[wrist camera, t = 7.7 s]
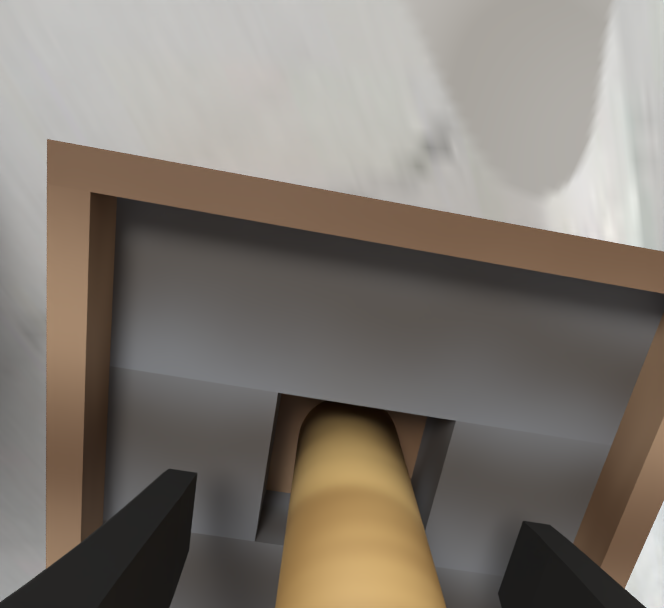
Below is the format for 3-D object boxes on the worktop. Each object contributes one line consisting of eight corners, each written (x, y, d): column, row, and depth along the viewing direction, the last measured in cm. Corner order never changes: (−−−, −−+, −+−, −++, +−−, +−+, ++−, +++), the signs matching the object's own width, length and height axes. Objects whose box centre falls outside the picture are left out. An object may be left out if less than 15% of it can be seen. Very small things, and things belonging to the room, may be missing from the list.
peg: (388, 487, 13) (476, 927, 5) (293, 477, 13) (235, 911, 5) (405, 401, 12) (537, 764, 4) (304, 389, 12) (254, 740, 4)
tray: (495, 614, 15) (551, 754, 12) (120, 563, 15) (45, 693, 11) (625, 246, 12) (766, 270, 8) (144, 159, 11) (47, 139, 7)
